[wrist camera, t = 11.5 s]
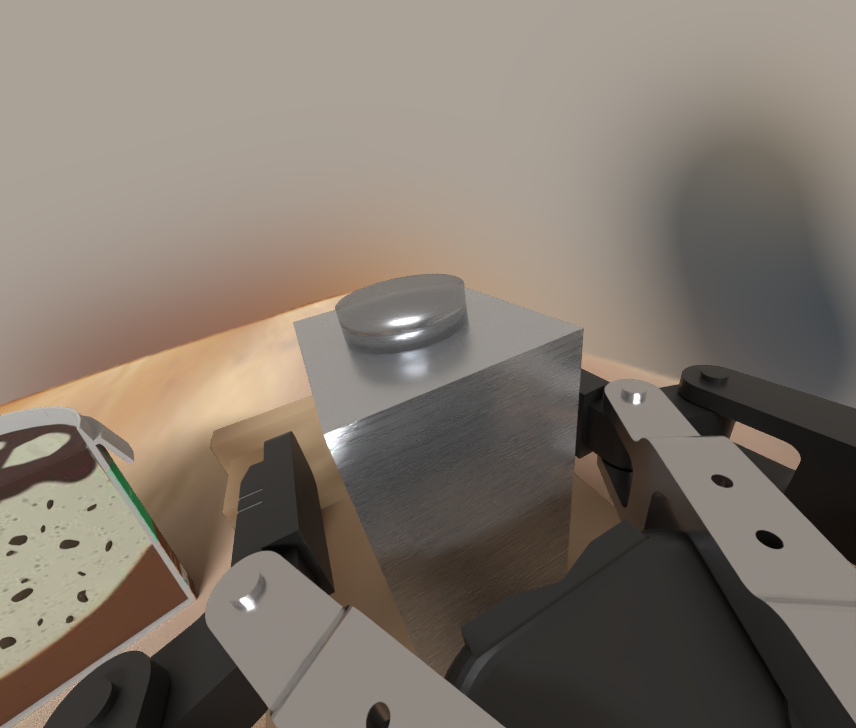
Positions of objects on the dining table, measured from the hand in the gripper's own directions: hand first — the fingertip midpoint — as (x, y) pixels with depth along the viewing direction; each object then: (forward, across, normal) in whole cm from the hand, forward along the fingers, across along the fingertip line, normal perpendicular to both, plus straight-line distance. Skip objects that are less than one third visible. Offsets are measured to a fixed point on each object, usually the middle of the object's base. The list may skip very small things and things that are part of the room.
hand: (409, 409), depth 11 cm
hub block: (-1, 0, +8) cm, 8 cm away
